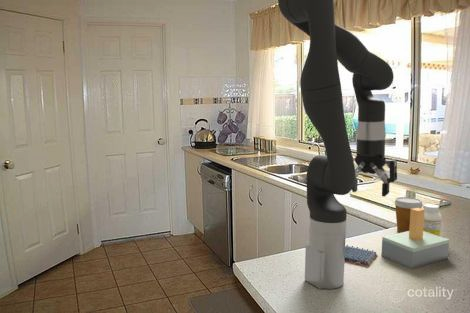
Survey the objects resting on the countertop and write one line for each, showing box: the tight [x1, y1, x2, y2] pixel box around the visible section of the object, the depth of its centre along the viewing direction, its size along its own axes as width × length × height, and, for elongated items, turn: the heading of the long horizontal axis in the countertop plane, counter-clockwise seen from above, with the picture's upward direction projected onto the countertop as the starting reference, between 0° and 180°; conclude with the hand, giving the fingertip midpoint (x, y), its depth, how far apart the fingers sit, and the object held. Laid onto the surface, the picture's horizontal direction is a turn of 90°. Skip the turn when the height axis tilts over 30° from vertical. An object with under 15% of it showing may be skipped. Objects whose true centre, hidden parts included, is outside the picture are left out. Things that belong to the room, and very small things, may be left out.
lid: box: [381, 208, 450, 252], centre depth 118 cm, size 16×11×11 cm
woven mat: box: [344, 244, 379, 268], centre depth 119 cm, size 10×11×2 cm
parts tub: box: [380, 239, 450, 270], centre depth 119 cm, size 16×11×5 cm
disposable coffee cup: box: [393, 196, 424, 233], centre depth 141 cm, size 10×10×12 cm
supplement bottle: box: [422, 203, 443, 237], centre depth 130 cm, size 7×7×13 cm
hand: (369, 193), depth 111 cm, fingers open, 8 cm apart
